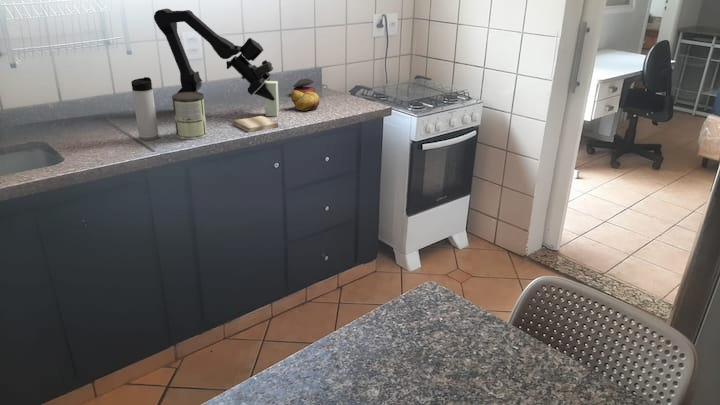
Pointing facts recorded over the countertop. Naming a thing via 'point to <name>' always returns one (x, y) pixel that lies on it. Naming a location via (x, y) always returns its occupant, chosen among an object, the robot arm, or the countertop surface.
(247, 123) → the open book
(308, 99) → the bread roll
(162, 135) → the countertop surface
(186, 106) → the coffee can
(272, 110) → the sage block
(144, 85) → the travel mug
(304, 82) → the dark grey rounded piece
